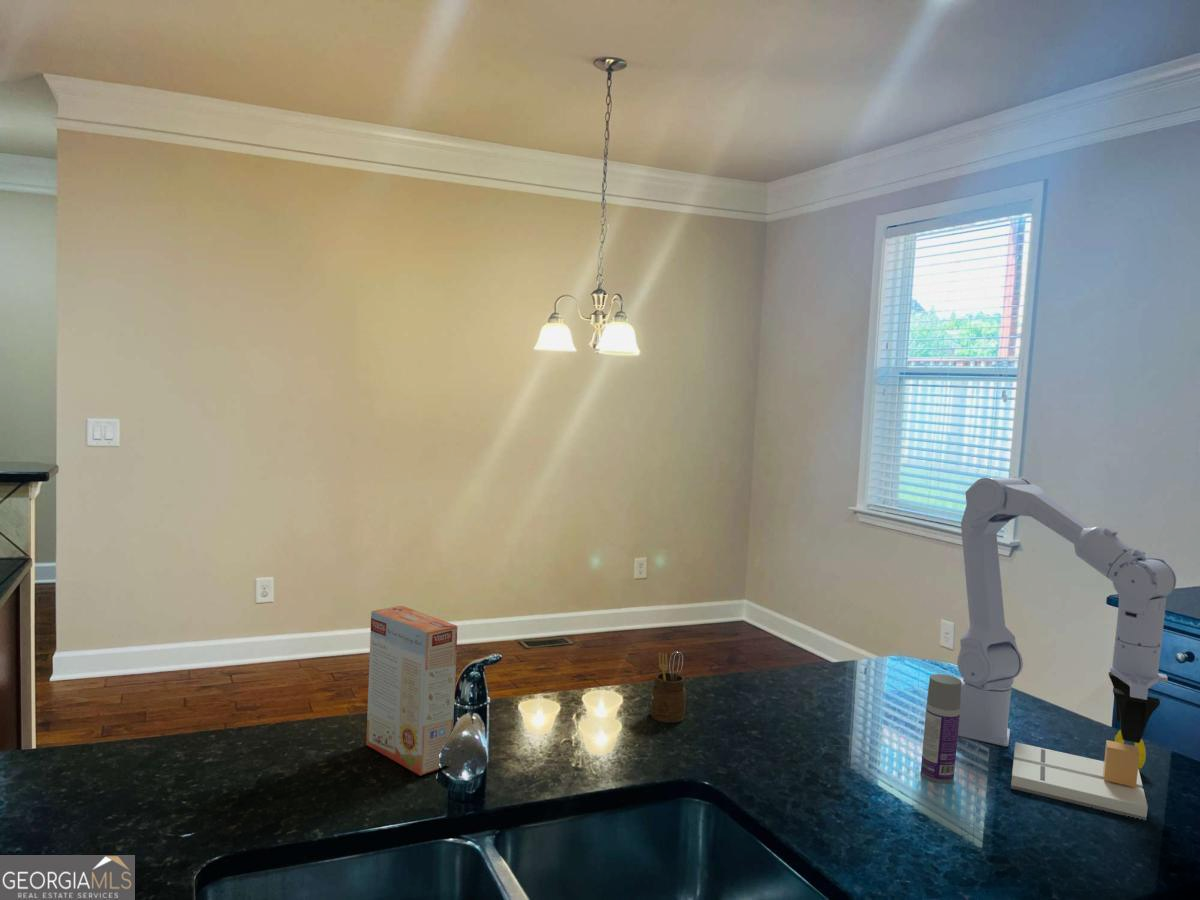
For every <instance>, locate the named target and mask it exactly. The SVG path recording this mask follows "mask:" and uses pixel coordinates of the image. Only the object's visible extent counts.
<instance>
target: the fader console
mask: <svg viewBox="0 0 1200 900" xmlns="http://www.w3.org/2000/svg"><path fill="white" fill-rule="evenodd" d="M1013 751H1014V752H1013V753H1014V754H1013V762H1012V763H1013V764H1012V772H1011V783H1010V789H1013V790H1018V791H1020V792H1024V793H1028V794H1029V793H1030V794H1032V795H1037V796H1041V797H1046V798H1050V799H1054V800H1059V801H1061V802H1065V803H1066V802H1067V803H1071V804H1074V805H1078V806H1079V805H1080V806H1084V807H1087V808H1091V807H1092V808H1091V809H1096V810H1099V811H1103V810H1104V811H1105V812H1108V813H1111V814H1116V815H1121V816H1124V815H1125V816H1124V817H1128V816H1130V817H1129V818H1132V817H1134V818H1133V819H1136V818H1139V819H1138V820H1141V819H1143V820H1142V821H1145V820H1146V821H1147V816H1148V807H1149V806H1148V801H1147V799H1146V795H1145V790H1144V788H1143V782H1142V778H1141V774H1140V769H1138V774H1137V783H1136V787H1132V786H1128V785H1124V784H1119V783H1115V782H1110V781H1106V780H1104V776H1103V767H1104V760H1098V759H1094V758H1089V757H1085V756H1080V755H1076V754H1071V753H1066V752H1061V751H1058V750H1052V749H1049V748H1044V747H1038V746H1035V745H1031V744H1025V743H1020V742H1017V741H1016V742H1015V743H1014V750H1013Z"/></svg>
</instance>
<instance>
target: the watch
mask: <svg viewBox="0 0 1200 900" xmlns="http://www.w3.org/2000/svg"><path fill="white" fill-rule="evenodd" d="M1142 738H1143V737H1142ZM1142 738H1141V740H1140V742H1139V743H1135V742H1133V743H1134V746H1138V749H1139V753H1140V755H1139V764H1138V769H1139V770H1141V769H1142V768H1143V766H1144V765H1145V762H1146V760H1147V759H1146V757H1147V751H1146V750H1147V749H1146V745H1145V743H1144V740H1143V739H1142ZM1114 742H1118V743H1123V744H1125V740H1123V739H1122V734H1121V729H1119V731H1118V732H1117V734H1116V735H1115V737H1114Z"/></svg>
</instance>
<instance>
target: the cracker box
mask: <svg viewBox="0 0 1200 900" xmlns="http://www.w3.org/2000/svg"><path fill="white" fill-rule="evenodd" d="M370 614H371V615H370V634H369V635H370V638H369V639H370V640H369V660H368V661H369V662H368V664H369V666H368V668H369V669H368V691H367V711H366V712H367V716H366V718H367V720H366V741H365V742H366V743H365V745H366V747H367V746H368V747H369V748H370V749H371V748H372V749H373V750H375V751H376V752H378V753H380V755H383V756H385V757H387V758H388V759H390V760H391V761H394V762H396V763H397V764H399V765H401V766H402V767H404V768H406V769H407V770H409V771H411V772H412V773H414V774H416V775H418V776H423V775H426V774H429V773H433V772H435V771H437V770H440V769H439V754H440V751H441V749H442V747H443V745H444V744H445V742H446V740H447V738H448V737H449V735H450V733H451V731H452V729H453V730H454V714H455V713H454V712H455V711H454V709H455V691H456V666H457V665H456V664H457V648H458V627H459V626H458V625H456V624H453V623H450V622H448V621H444V620H442V619H439V618H437V617H434V616H431V615H428V614H425V613H423V612H419V611H417V610H415V609H412V608H409V607H407V606H404V605H397V606H391V607H386V608H381V609H374V610H373V611H372V610H371V613H370Z"/></svg>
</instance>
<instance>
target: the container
mask: <svg viewBox="0 0 1200 900" xmlns="http://www.w3.org/2000/svg"><path fill="white" fill-rule="evenodd" d="M958 678H959V677H957V678H956V677H955V676H953V675H949V674H942V673H941V674H940V673H934V674H931V675H930V676H929V681H928V690H927V697H926V698H927V700H926V707H925V717H924V731H923V740H922V754H921V762H920V763H921V766H920V774H922V775H921V776H922V777H924V778H925V779H927V780H929V781H932V782H935V783H941V784H949V783H952V782H953V781H954V778H955V769H956V759H957V758H956V757H957V747H958V739H959V736H958V727H959V717H960V700H961V684H962V682H961V680H960V679H958Z"/></svg>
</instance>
